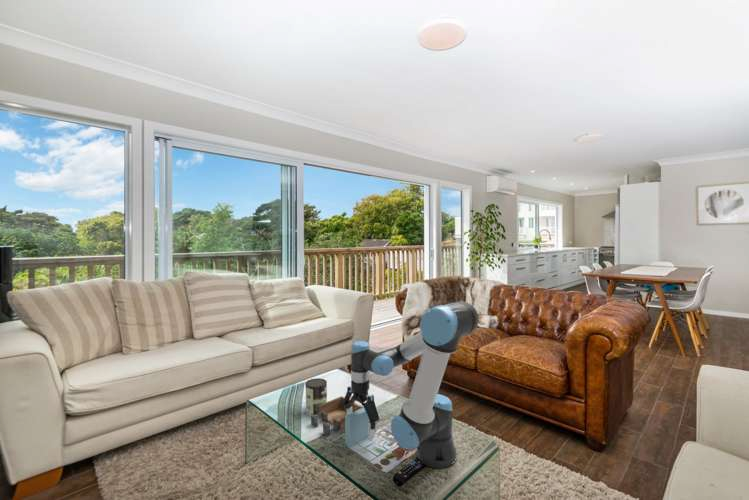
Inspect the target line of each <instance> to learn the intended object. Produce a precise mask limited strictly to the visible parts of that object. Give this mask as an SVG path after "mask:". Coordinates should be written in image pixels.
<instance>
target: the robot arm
mask: <svg viewBox="0 0 749 500" xmlns="http://www.w3.org/2000/svg"><path fill="white" fill-rule="evenodd" d="M479 318H480V317H479V314H478V310H477V309H476V308H475V307H474V306H473V305H472V304H470V303H469V302H466V301H462V300H459V301H454V302H449V303H446V304H440V305H439V304H438V305H436V306H433V307H431V308H429V309H427V310H426V311H425V312H424V313H423V315H422V316H421V318H420V322H419V329H420V332H418V333H416V334H415V335H413V336H411V337H409V338H408V339H406V340H404V341H403V342H401V343H399V344H398V345H396V346H394V347H391V348H387V349H384V350H382V351H379V352H377V351H373V350H371V347H370V343H369V342H367V341H364V340H359V341H354V342H353V343H352V344H351V349H350V363H351V364H350V367H351V368H350V369H351V370H350V379H351V381H350V385H349V386H347V390H346V393H345V395H344V397H345V398H344V400H343V403H342V404H343V405H345V408H346V415H348V414H351V413H352V407H351V406H352V404H353V403H354V402H355V403H356V402H358V403H359V404H361V406H363V407H364V409H365V411H366V413H367V415H368V418H369V420H370V421H368V437H369V438H368V439H370V438H372V437H373V436H375V435H374V429H375V430H376V422H378V421H380V416H379V413H378V409H377V406H376V403H375V396H374V394H371V395H369V390H370V372H371V373H374V374H375V375H378V376H382V377H387V376H389V375H390V374H391V373H392V371H393V369H394V368H396V367H399V366H403V365H405V364H407V363H410V362H412V360H413V359H415V358H417V357H419V356H420V355H421V358H420V361H419V365H418V368H417V371H416V374H415V377H414V378H415V379H414V381H413V384H412V387H411V392H410V394H409V397H408V398H409V399H406V400H404V402H403V403H402V406H401V410H400V413H399V414H398V415H395V416H394V417H393V418H392V420H391V422H390V429H391V433H392V436H393V438H394V441H396V443H397V444H398V445H399V446H400V447H401V448H402V449H404V450H406V451H407V450H408V451H412V450H415V449H416V457H417V460H418V461H419V462H420V463H421V464H423V463H424V464H423V465H425V466H428V467H430V468H435V469H444V468H449V467H451V466H452V465H451V464H452V463H453V462H454V461H455V459H456V457H457V456H458V455H457V449H456V446H455V443H454V438H453V403H452V401H451V399H450V398H449V397H448V396H445V395H443V394H439V390H440V386H441V384H442V381H443V377H444V375H445V371H446V369H447V365H448V362H449V359H450V357H451V354H455V353H456V352H457V349H458V348H459V345H460V341H461V338H464V337H466V336H469V335H470V334H472V333H474V332H475V331H476V330H477V327H478V325H479ZM457 458H458V457H457ZM456 460H457V459H456ZM450 465H451V466H450Z"/></svg>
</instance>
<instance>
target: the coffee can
mask: <svg viewBox="0 0 749 500" xmlns="http://www.w3.org/2000/svg"><path fill="white" fill-rule="evenodd" d="M327 383H328V381H327V380H326V379H324V378H311V379H308V380H306V381H305V382H304V385H305V413H306V415H308V416H310V417H311V416H312V415H314V416H316V417H318V406H319V405H321V404H324V403H326V402H328V398H327V397H328V392H327V391H328V388H327V387H328V386H327Z"/></svg>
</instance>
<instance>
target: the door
mask: <svg viewBox="0 0 749 500" xmlns="http://www.w3.org/2000/svg"><path fill="white" fill-rule="evenodd" d="M368 421H370V420H369V418H368V415H367V413H366V411H365V409H364V408H361V409H359V410H357V411H355V412H353V413H351V414H348V415H346V416H345V431H344V432H345V436H344V437H345V446H347V447H348V448H352V447H354V446H356V445H358V444H360V443H362V442H364V441H366V440H367V439H370V438H369V437H368ZM375 435H376V428H375V429H374V436H375Z"/></svg>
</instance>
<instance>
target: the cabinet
mask: <svg viewBox="0 0 749 500" xmlns="http://www.w3.org/2000/svg"><path fill="white" fill-rule="evenodd" d="M344 398H345V396H342V395H341V396H338V397H336V398H334V399H331V400H329V401H327V402H326V403H324V404H321V405H319V406H318V416H314V415H312V416H310V425H311V426H312V427H314V428H318V427H319V420H320V421H322V422H323V423H322V432H323V434H325V435H326V436H331V425H332V427H333V428H332V429H335V431H339V432H340V433H344V432H345V416H346V408H345V405H343V404H342V403H343V400H344ZM351 407H352V413H353V412H355V411H357V410H359V409H361V408H364V406H362V404H361V405H360V403H359V404H358V403H356V401H355V402H354V403H353V404H352V406H351Z"/></svg>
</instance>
